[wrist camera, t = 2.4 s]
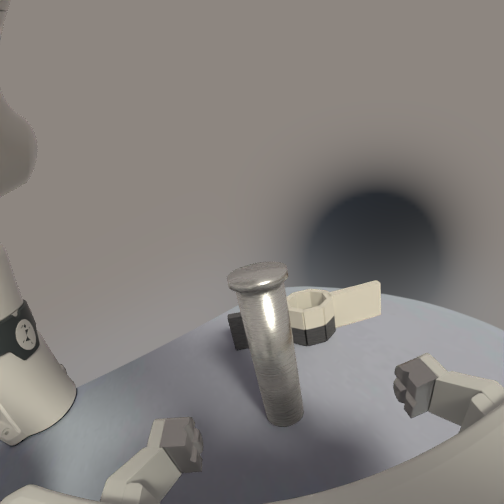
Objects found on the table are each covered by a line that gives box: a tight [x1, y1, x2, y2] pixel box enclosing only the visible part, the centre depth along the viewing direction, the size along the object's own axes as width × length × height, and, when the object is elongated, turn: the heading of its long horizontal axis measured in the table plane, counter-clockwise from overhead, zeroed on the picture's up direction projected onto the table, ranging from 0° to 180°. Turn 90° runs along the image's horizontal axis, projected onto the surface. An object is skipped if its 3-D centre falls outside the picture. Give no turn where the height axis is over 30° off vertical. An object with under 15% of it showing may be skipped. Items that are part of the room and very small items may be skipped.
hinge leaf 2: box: [286, 280, 381, 330], centre depth 38 cm, size 14×6×5 cm, turn 95°
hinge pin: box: [227, 262, 304, 427], centre depth 23 cm, size 4×4×15 cm
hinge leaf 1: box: [228, 307, 336, 350], centre depth 38 cm, size 14×6×5 cm, turn 95°
